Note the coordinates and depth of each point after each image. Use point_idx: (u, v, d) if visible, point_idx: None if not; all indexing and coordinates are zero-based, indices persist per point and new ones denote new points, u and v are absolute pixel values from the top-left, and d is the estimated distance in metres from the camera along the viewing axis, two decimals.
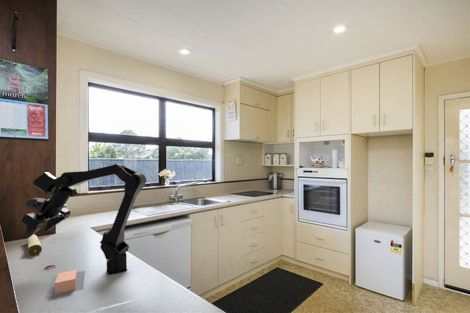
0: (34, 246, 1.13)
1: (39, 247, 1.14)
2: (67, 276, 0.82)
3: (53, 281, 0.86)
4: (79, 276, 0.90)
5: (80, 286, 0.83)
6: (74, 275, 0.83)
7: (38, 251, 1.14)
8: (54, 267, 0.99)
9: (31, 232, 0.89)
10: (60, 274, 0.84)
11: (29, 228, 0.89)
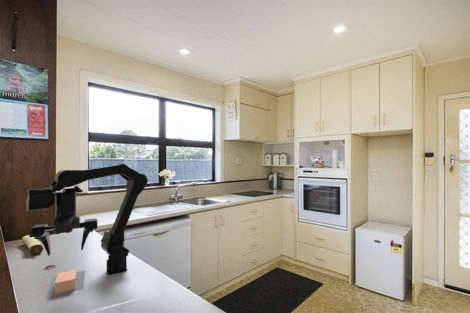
0: (35, 246, 1.13)
1: (40, 247, 1.15)
2: (67, 276, 0.82)
3: (53, 281, 0.86)
4: (79, 276, 0.90)
5: (80, 286, 0.83)
6: (74, 275, 0.83)
7: (39, 251, 1.14)
8: (54, 267, 0.99)
9: None
10: (60, 274, 0.84)
11: None
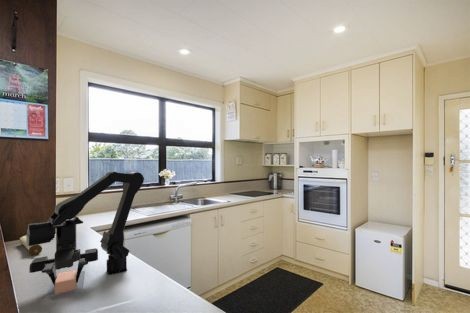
0: (34, 246, 1.13)
1: (39, 247, 1.14)
2: (67, 276, 0.82)
3: None
4: (79, 276, 0.90)
5: (80, 286, 0.83)
6: (74, 275, 0.83)
7: (38, 251, 1.14)
8: None
9: None
10: (60, 274, 0.84)
11: None
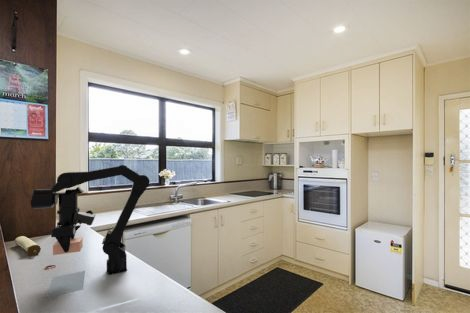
0: (33, 246, 1.13)
1: (38, 247, 1.14)
2: (71, 240, 0.89)
3: (53, 281, 0.86)
4: (79, 276, 0.90)
5: (80, 286, 0.83)
6: None
7: (37, 251, 1.14)
8: (54, 267, 0.99)
9: None
10: (58, 243, 0.86)
11: None
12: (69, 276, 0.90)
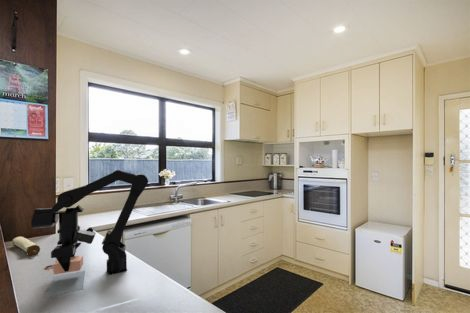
0: (32, 246, 1.13)
1: (37, 247, 1.14)
2: (71, 259, 0.89)
3: (53, 281, 0.86)
4: (79, 276, 0.90)
5: (80, 286, 0.83)
6: None
7: (36, 251, 1.14)
8: None
9: None
10: None
11: None
12: (69, 276, 0.90)
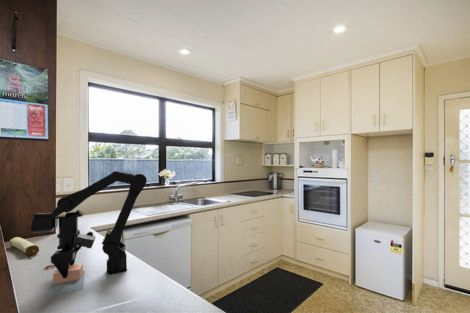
0: (31, 247, 1.12)
1: (36, 247, 1.14)
2: (71, 267, 0.89)
3: None
4: None
5: (80, 286, 0.83)
6: (73, 265, 0.91)
7: (35, 251, 1.13)
8: (54, 267, 0.99)
9: None
10: (58, 271, 0.86)
11: None
12: None
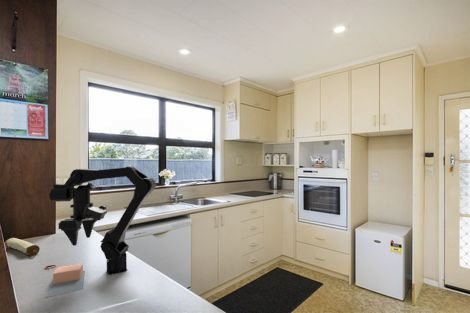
0: (32, 246, 1.13)
1: (37, 247, 1.14)
2: (71, 267, 0.89)
3: None
4: None
5: (80, 286, 0.83)
6: (73, 265, 0.91)
7: None
8: (54, 267, 0.99)
9: None
10: (58, 271, 0.86)
11: None
12: None
